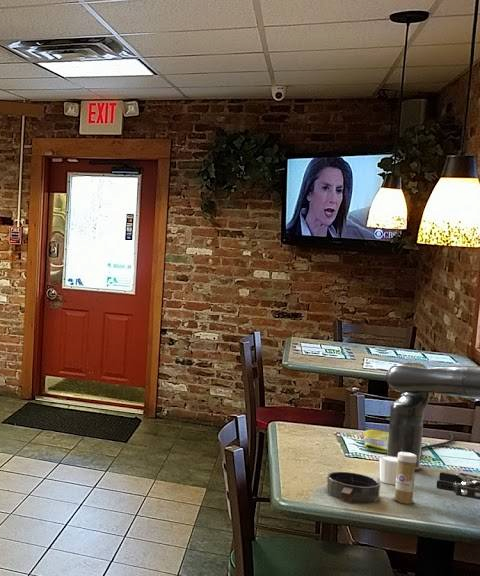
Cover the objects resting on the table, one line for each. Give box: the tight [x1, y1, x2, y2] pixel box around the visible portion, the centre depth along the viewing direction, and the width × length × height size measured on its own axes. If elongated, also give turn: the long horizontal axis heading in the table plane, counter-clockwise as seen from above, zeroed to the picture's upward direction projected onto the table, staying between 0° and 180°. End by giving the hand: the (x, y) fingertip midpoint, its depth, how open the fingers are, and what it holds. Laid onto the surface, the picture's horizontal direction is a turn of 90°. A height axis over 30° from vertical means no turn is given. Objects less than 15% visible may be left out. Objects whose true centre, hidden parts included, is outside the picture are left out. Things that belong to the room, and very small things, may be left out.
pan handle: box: [340, 487, 354, 504], centre depth 208 cm, size 6×2×4 cm, turn 144°
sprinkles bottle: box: [393, 452, 417, 505], centre depth 212 cm, size 5×5×14 cm
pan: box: [325, 471, 381, 504], centre depth 216 cm, size 13×13×4 cm
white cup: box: [379, 455, 398, 486], centre depth 229 cm, size 7×7×7 cm
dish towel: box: [363, 429, 389, 454], centre depth 267 cm, size 18×24×3 cm
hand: (438, 479), depth 207 cm, fingers open, 8 cm apart
